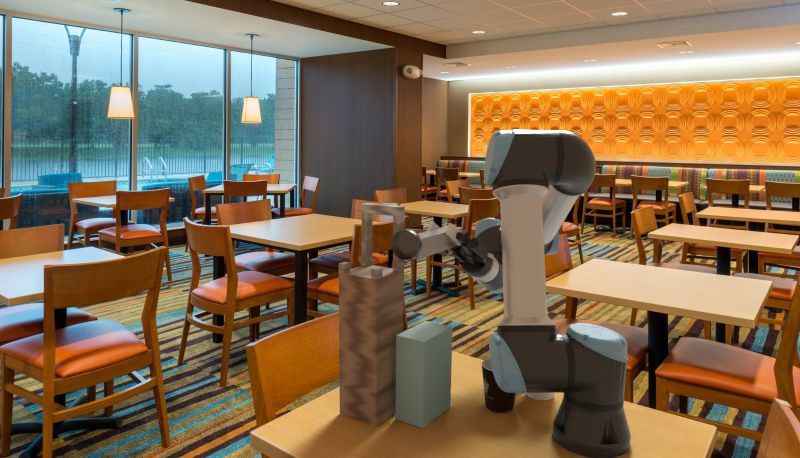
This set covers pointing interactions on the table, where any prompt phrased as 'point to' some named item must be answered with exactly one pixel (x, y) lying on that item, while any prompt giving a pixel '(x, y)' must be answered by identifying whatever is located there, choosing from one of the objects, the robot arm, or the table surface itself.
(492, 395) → the coffee mug
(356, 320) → the walnut stand
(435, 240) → the grey elongated piece
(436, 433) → the table surface
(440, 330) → the teal pedestal
